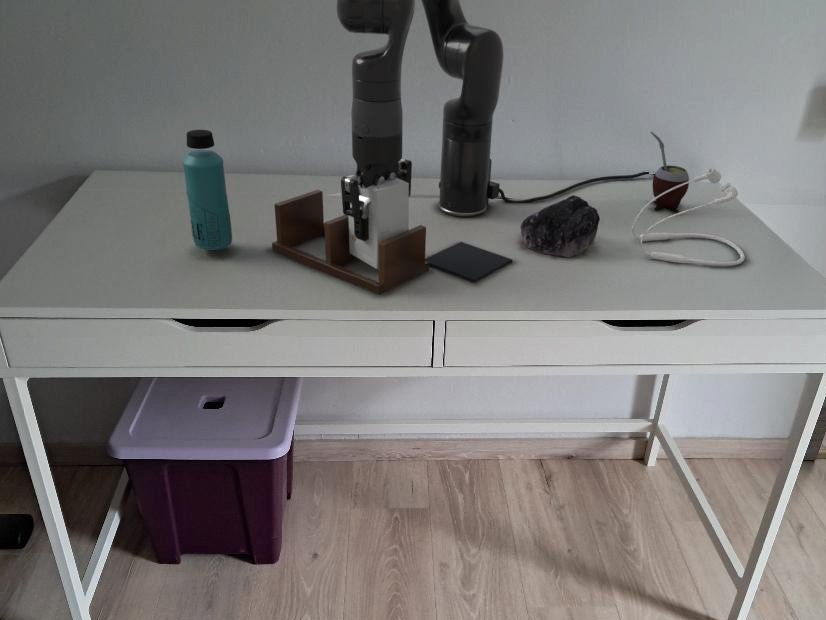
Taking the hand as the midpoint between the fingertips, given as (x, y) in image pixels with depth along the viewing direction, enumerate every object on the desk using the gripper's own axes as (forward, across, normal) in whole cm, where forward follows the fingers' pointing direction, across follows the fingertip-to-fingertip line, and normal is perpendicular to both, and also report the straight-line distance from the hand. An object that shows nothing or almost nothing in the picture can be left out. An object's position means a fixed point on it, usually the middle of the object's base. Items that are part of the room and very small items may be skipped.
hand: (378, 232), depth 127 cm
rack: (+7, 0, -6) cm, 9 cm away
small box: (+5, 0, 0) cm, 5 cm away
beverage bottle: (+7, +13, -25) cm, 29 cm away
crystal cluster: (+7, -30, +16) cm, 35 cm away
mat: (+7, -12, +9) cm, 17 cm away
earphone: (+7, -44, +35) cm, 57 cm away
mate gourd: (+8, -62, +22) cm, 67 cm away
